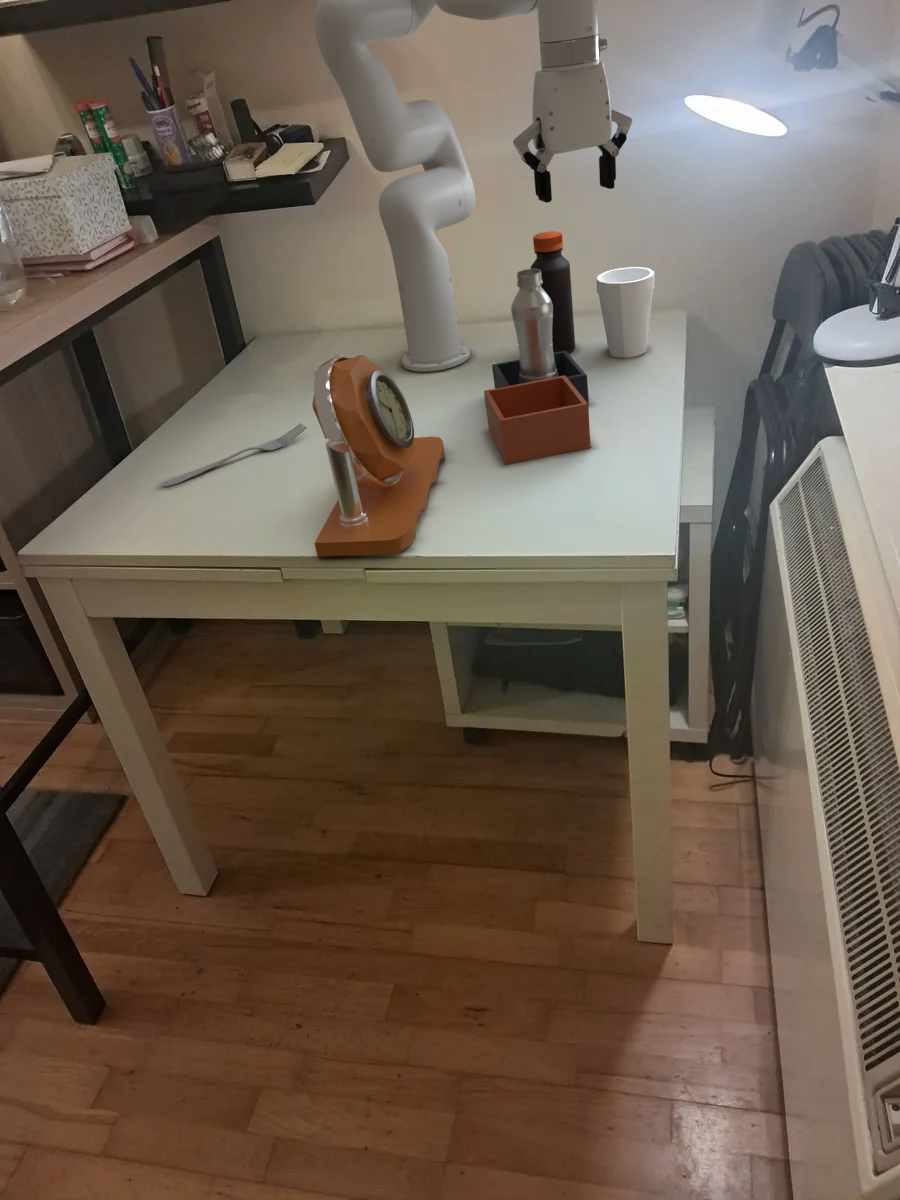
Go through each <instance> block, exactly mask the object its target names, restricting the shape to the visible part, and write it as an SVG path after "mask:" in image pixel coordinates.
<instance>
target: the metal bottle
mask: <svg viewBox="0 0 900 1200" xmlns="http://www.w3.org/2000/svg"><path fill="white" fill-rule="evenodd" d="M516 279H517V282H516V286H517V287H518V291H517V292H516V295H515V296H514V298H513V300H512V302H511V307H510V313H511V317H512V321H513V326H514V330H515V333H516V340H517V344H518V352H519V353H518V354H519V359H520V373H519V384H522V383H527V382H532V381H538V380H543V379H548V378H553V377H559V375H558V372H557V369H556V364H555V359H554V353H553V342H552V322H553V304H552V301H551V299H550V297H549V296H548V294H547V293H546V292H545V291H544V290H543V289H542V287H541V284H542V283H543V281H542V277H541V270H539V269H530V268H527V269H522V270H520V271H518V272H517V273H516Z"/></svg>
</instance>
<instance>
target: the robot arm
mask: <svg viewBox="0 0 900 1200" xmlns="http://www.w3.org/2000/svg"><path fill="white" fill-rule="evenodd" d="M435 6H437V7H438V8H439V9H440V10H441V11H442V12H444V13H445V14H448V15H451V16H456V17H461V18H467V19H471V20H478V21H494V20H500V19H504V18H509V17H514V16H520V15H527V14H532V13H536V12H537V21H538V34H539V35H538V36H539V37H538V38H539V51H540V66H541V70H537V71H535V74H534V81H533V92H532V93H533V94H532V123H531V124H530V125H529V126H528V127H527V128H526V129H524V130H523V131H522V132H521V133H520V134H519V135H517V136H516V137H515V138H514V140H513V141H512V144H513V146H514V148H515V149H516V151H517V153H518V154H519V155H520V159H521V160H522V161H523V163H524V164H526V165H527V166H528V167H530V170H532V171H533V177H534V179H533V180H534V192H535V195H536V197H537V199H538V201H541V202H543V203H546V204H547V203H548V204H549V203H551V202H552V200H553V194H552V180H551V171H549V170H548V169H547V168H548V166H549V164H550V163H551V162H552V159H553V157H554V156H555V155H558V154H559V155H560V154H566V153H570V152H574V151H579V150H580V151H581V150H585V149H590V148H593V147H597V149H598V150H599V151H600V152H601V155H599V157H598V172H599V175H598V176H599V186H600V187H602V188H605V189H608V190H612V189H615V181H616V179H617V168H616V167H617V163H616V162H617V161H616V158H617V157H618V156H619V155H620V150H621V148H623V145H624V144H625V143H626V141H627V138H628V136H627V135H628V134H629V131H630V129H631V126H632V123H633V118H632V117H630V116H628V115H626V114H624V113H621V112H619V111H617V110H615V109H613V108H612V106H611V105H612V104H611V97H610V89H609V84H608V83H609V82H608V78H607V73H606V68H605V65H604V62H603V61H600V58H601V52H602V51H606V50H607V49H608V40H607V39H606V38H600V34H599V25H598V23H599V21H598V0H318V2H317V4H316V7H315V11H314V33H315V39H316V42H317V46H318V49H319V52H320V54H321V57H322V59H323V61H324V63H325V65H326V67H327V69H328V71H329V72H330V74H331V75H332V77H333V79H334V81H335V82H336V84H337V86H338V88H339V90H340V92H341V94H342V96H343V98H344V101H345V103H346V106H347V109H348V112H349V114H350V117H351V119H352V122H353V124H354V127H355V131H356V132H357V135H358V138H359V140H360V143H361V145H362V148H363V150H364V152H365V155H366V157H367V159H368V161H369V163H370V165H371V166H372V167H373V168H374V169H375V170H376V171H378V172H380V173H393V172H397V171H402V170H405V169H408V168H411V167H416V166H419V165H421V166H422V168H423V171H418V172H415V173H412V174H408V175H405V176H402V177H400V178H396V179H395V180H393V181H391V182H390V183H389V184H387V186H385V187H384V189H382V191H381V193H380V196H379V198H378V199H379V200H378V212H379V217H380V220H381V223H382V225H383V229H384V232H385V234H386V236H387V237H386V238H387V240H388V243H389V246H390V251H391V255H392V261H393V266H394V270H395V276H396V277H395V278H396V282H397V287H398V295H399V301H400V306H401V312H402V318H403V324H404V330H405V337H406V342H407V347H408V352H406V353H405V354H404V355H403V356H402V357H401V363H402V366H403V368H405V369H406V370H408V371H412V372H418V373H419V372H421V373H427V372H438V371H444V370H447V369H452V368H454V367H457V366H459V365H461V364H463V363H465V362H466V361H467V360H468V359H469V358H470V356H471V350H470V347H469V346H467V345H466V344H464V343H461V341H460V333H459V325H458V319H457V309H456V303H455V295H454V288H453V287H454V286H453V281H452V274H451V266H450V259H449V256H448V254H447V251H446V249H445V248H444V246H443V245H442V243H441V242H440V241H439V240H438V238H437V237H436V234H435V232H436V231H439V230H442V229H445V228H448V227H450V226H453V225H457V224H459V223H461V222H463V221H465V220H466V219H468V218H469V217H470V216H471V215H472V213H473V212H474V209H475V205H476V189H475V185H474V182H473V178H472V175H471V173H470V170H469V167H468V164H467V161H466V159H465V156H464V153H463V150H462V147H461V145H460V142H459V139H458V136H457V133H456V130H455V128H454V125H453V123H452V120H451V119H450V117H449V115H448V114H447V112H446V111H445V110H444V109H443V107H442V106H440V105H439V104H438V103H437V102H435V101H433V100H429V99H419V100H413V101H410V102H404V101H403V99H401V96H400V94H399V91H398V90H397V87H396V84H395V81H394V79H393V76H392V74H391V73H390V71H389V69H388V68H387V67H386V65H385V64H384V62H382V61H381V60H380V59H379V58H378V56H376V55H375V54H374V53H373V52H371V51H370V50H369V49H368V44H373V43H377V42H383V41H389V40H394V39H399V38H404V37H407V36H410V35H411V34H414V33H415V32H416V31H417V30H418V29H419V28H420V27H421V26H422V25H423V24H424V22H425V21H426V20H427V18H428V16H430V14H431V12H432V11H433V9H434V8H435ZM613 123H615V124H616V125H617V127H616V132H615V133H614V134H613V136H612V133H613V132H612V131H613V129H612V128H613V127H612V126H613ZM531 142H533V147H534V148H535V150H536V152H535V154H534V153H533V152H531V149H530V147H529V143H531Z"/></svg>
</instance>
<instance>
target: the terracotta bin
mask: <svg viewBox="0 0 900 1200" xmlns="http://www.w3.org/2000/svg"><path fill="white" fill-rule="evenodd" d="M483 396H484V403H485V411H486V420H487V428H488V433H489V435H490V437H491V439H492V441H493V443H494V445H495V447H496V448H497V451H498V453H499V455H500V457H501V458H502V461H503V463H504V464H505V465H511V464H515V463H520V462H526V461H531V460H535V459H541V458H546V457H551V456H556V455H560V454H567V453H571V452H576V451H582V450H587V449H591V447H592V445H591V429H590V428H591V427H590V411H589V406H588V403H587V402H586V401H585V400H584V398H583V397H582V396H581V395H580V393H579V392H578V391H577V390H576V388H575V387H574V386H573V385H572V383H571V382H570V381H569V380H568V378H567V377H566V376H565V375H564V376H559V377H553V378H548V379H543V380H538V381H532V382H527V383H522V384H517V385H511V386H506V387H501V388H496V389H495V388H491V389H486V390H483Z"/></svg>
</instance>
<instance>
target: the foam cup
mask: <svg viewBox="0 0 900 1200" xmlns="http://www.w3.org/2000/svg"><path fill="white" fill-rule="evenodd" d="M595 280H596V293H597V294H598V297H599V304H600V308H601V309H600V310H601V315H602V320H603V325H604V331H605V336H606V342H607V347H608V348H607V349H608V350H609V354H610V355H611V356H612V357H615V358H620V359H621V358H624V359H626V358H635V357H638V356H642V355H643V354H645V353H646V352H647V350H648V349H647V347H648V343H649V332H650V324H651V323H650V322H651V313H652V304H653V294H654V288H655V285H656V283H655V282H656V281H655V271H654V270H653V269H651V268H648V267H642V266H628V267H620V268H615V269H614V268H613V269H611V270H607V271H603V272H602V273H600V274H598V275H597V277H596V279H595Z"/></svg>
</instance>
